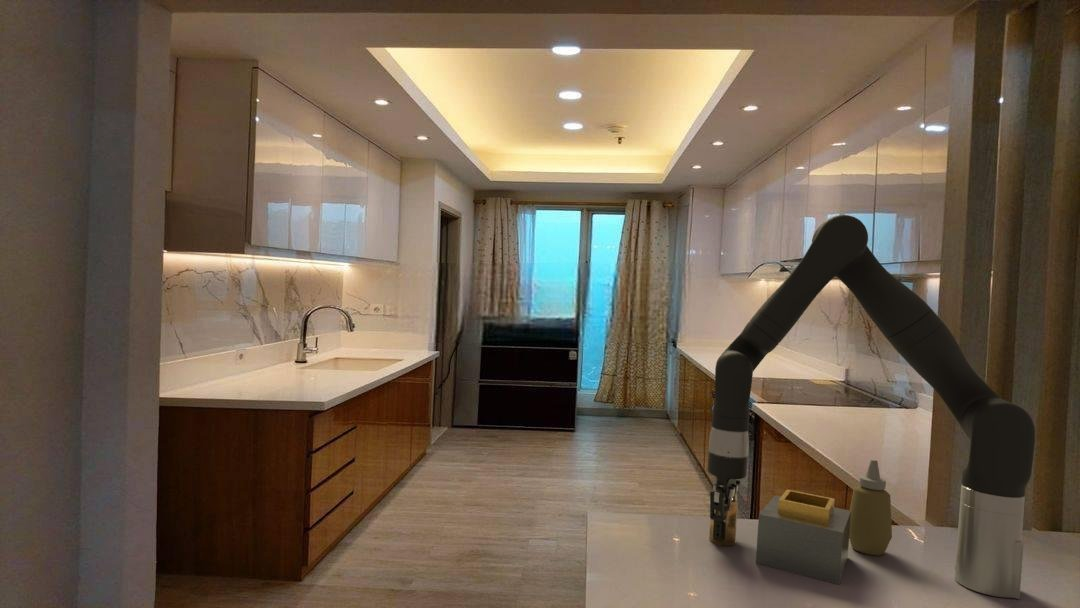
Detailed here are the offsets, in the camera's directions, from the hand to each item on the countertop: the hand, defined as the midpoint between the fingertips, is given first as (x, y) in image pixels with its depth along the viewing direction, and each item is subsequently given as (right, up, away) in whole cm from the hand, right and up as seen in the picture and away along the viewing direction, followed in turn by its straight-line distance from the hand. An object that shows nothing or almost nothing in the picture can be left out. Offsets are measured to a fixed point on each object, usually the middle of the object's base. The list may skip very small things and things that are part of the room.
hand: (722, 535), depth 128 cm
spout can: (0, -1, 0) cm, 1 cm away
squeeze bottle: (+29, -3, 0) cm, 29 cm away
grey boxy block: (+13, -2, -7) cm, 15 cm away
